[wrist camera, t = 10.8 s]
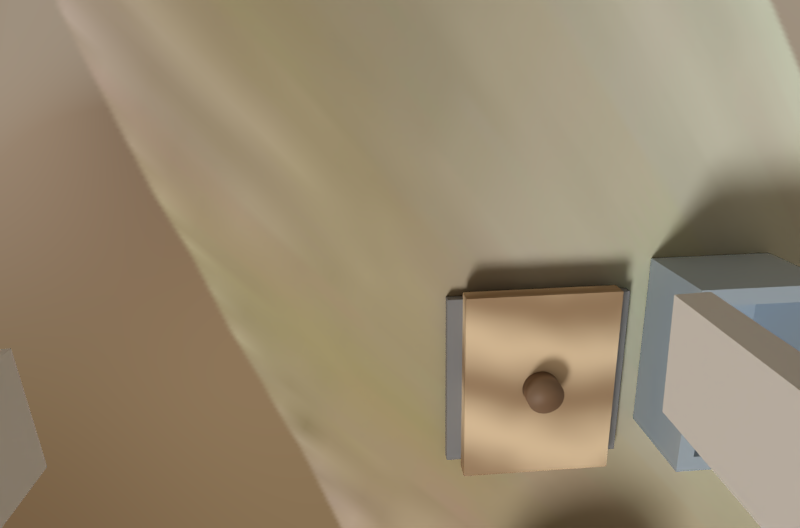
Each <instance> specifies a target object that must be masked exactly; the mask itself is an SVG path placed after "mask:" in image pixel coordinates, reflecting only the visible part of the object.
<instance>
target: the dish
mask: <svg viewBox="0 0 800 528" xmlns="http://www.w3.org/2000/svg"><path fill="white" fill-rule="evenodd" d="M702 292H712V293H714V294H715V295H717V296H718V297H720V298H721V299H722V300H724V301H725V302H727V303H728V304H730V305H731V306H733V307H734V308H736V309H737V310H739V311H740V312H742V313H743V314H745V315H746V316H748V317H749V318H751V319H752V320H754V321H755V322H757V323H758V324H759V325H761V326H762V327H764V328H765V329H767V330H768V331H770V332H771V333H773V334H774V335H776V336H777V337H779V338H780V339H782V340H783V341H785V342H786V343H788V344H789V345H791V346H792V347H794V348H795V349H796V350H798V351H799V352H800V267H799V266H797V265H794V264H792V263H790V262H788V261H786V260H783V259H781V258H779V257H777V256H774V255H772V254H770V253H756V254H734V255H712V256H690V257H668V258H651V266H650V275H649V283H648V292H647V301H646V310H645V318H644V327H643V336H642V345H641V353H640V362H639V371H638V380H637V388H636V397H635V406H634V415H633V419H634V420H635V421H636V423H637V424H638V425H639V426H640V428H641V429H642V430H643V431H644V433H645V434H646V435H647V436H648V437H649V439H650V440H651V441H652V442H653V444H654V445H655V446H656V447H657V449H658V450H659V451H660V452H661V454H662V455H663V456H664V457H665V459H666V460H667V461H668V462H669V464H670V465H671V466H672V467H673V469H674V470H675V471H676V472H679V471H693V470H707V469H711V468H710V467H709V466H708V464H707V463H706V462H705V461H704V460H703V459H702V457H701V456H700V455H699V454H698V453H697V452H696V450H695V449H694V448H693V447H692V446H691V445H690V443H689V442H688V441H687V440H686V439H685V437H684V436H683V435H682V434H681V433H680V432H679V430H678V429H677V428H676V427H675V426H674V425H673V423H672V422H671V421H670V420H669V419H668V418H667V416H666V415H665V414H664V413H663V412H662V410H663V400H664V390H665V381H666V371H667V361H668V351H669V341H670V332H671V322H672V312H673V302H674V295H677V294H689V293H702Z"/></svg>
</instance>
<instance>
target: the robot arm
mask: <svg viewBox="0 0 800 528" xmlns="http://www.w3.org/2000/svg"><path fill="white" fill-rule="evenodd" d="M662 412H663V413H664V414H665V415H666V416H667V418H668V419H669V420H670V421H671V422H672V423H673V425H674V426H675V427H676V428H677V429H678V430H679V432H680V433H681V434H682V435H683V436H684V437H685V439H686V440H687V441H688V442H689V443H690V445H691V446H692V447H693V448H694V449H695V450H696V452H697V453H698V454H699V455H700V456H701V457H702V459H703V460H704V461H705V462H706V463H707V464H708V466H709V467H710V468H711V469H712V470H713V472H714V473H715V474H716V475H717V476H718V477H719V479H720V480H721V481H722V482H723V483H724V484H725V486H726V487H727V488H728V489H729V490H730V491H731V493H732V494H733V495H734V496H735V497H736V499H737V500H738V501H739V502H740V503H741V504H742V506H743V507H744V508H745V509H746V510H747V511H748V513H749V514H750V515H751V516H752V517H753V519H754V520H755V521H756V522H757V523H758V524H759V526H760V527H761V528H800V352H799V351H798V350H796V349H795V348H794V347H792V346H791V345H789V344H788V343H786V342H785V341H783V340H782V339H780V338H779V337H777V336H776V335H774V334H773V333H771V332H770V331H768V330H767V329H765V328H764V327H762V326H761V325H759V324H758V323H757V322H755V321H754V320H752V319H751V318H749V317H748V316H746V315H745V314H743V313H742V312H740V311H739V310H737V309H736V308H734V307H733V306H731V305H730V304H728V303H727V302H725V301H724V300H722V299H721V298H720V297H718V296H717V295H715V294H714V293H712V292H702V293H689V294H677V295H674V302H673V312H672V322H671V332H670V341H669V351H668V361H667V371H666V381H665V390H664V400H663V410H662ZM46 467H47V465H46V462H45V458H44V455H43V452H42V449H41V445H40V442H39V439H38V435H37V432H36V429H35V426H34V422H33V419H32V416H31V412H30V409H29V406H28V403H27V399H26V396H25V393H24V390H23V386H22V383H21V380H20V376H19V373H18V370H17V367H16V364H15V360H14V357H13V353H12V350H11V348H10V349H0V528H2V526H3V525H4V524H5V523H6V521H7V520H8V519H9V517H10V516H11V514H12V513H13V512H14V510H15V509H16V508H17V506H18V505H19V504H20V502H21V501H22V500H23V498H24V497H25V496H26V494H27V493H28V492H29V490H30V489H31V488H32V486H33V485H34V484H35V482H36V481H37V480H38V478H39V477H40V476H41V474H42V473H43V471H44V470H45V469H46Z"/></svg>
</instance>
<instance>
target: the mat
mask: <svg viewBox="0 0 800 528" xmlns="http://www.w3.org/2000/svg"><path fill="white" fill-rule="evenodd" d="M620 289H621V290H622V291H624V294H623V303H622V313H621V323H620V333H619V343H618V353H617V363H616V373H615V383H614V392H613V402H612V412H611V422H610V432H609V442H608V449H614V440H615V431H616V421H617V411H618V402H619V392H620V383H621V373H622V364H623V354H624V345H625V335H626V325H627V316H628V306H629V297H630V291H629V290H628V289H627V288H620ZM462 331H463V296H453V297H446V458H447V460H452V459H461V412H462Z"/></svg>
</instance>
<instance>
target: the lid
mask: <svg viewBox="0 0 800 528" xmlns="http://www.w3.org/2000/svg"><path fill="white" fill-rule="evenodd" d="M623 294H624V291H622V290H621V289H620V288H619V287H618V286H616V285H605V286H585V287H564V288H543V289H522V290H502V291H481V292H463V331H462V412H461V467H462V471H463V475H464V476H472V475H486V474H501V473H515V472H530V471H544V470H559V469H573V468H588V467H602V466H606V462H607V452H608V442H609V432H610V422H611V412H612V402H613V392H614V383H615V373H616V363H617V353H618V343H619V333H620V323H621V313H622V303H623Z"/></svg>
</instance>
